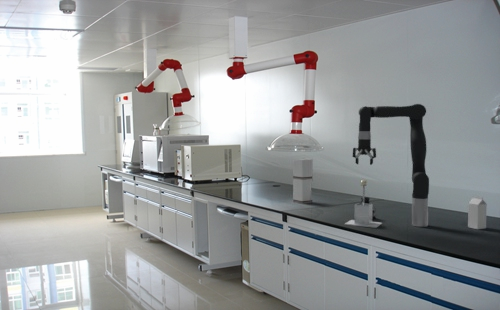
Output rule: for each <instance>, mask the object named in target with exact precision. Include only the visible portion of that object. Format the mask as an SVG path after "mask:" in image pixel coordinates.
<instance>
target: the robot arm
mask: <svg viewBox="0 0 500 310" xmlns="http://www.w3.org/2000/svg"><path fill="white" fill-rule="evenodd" d="M426 114H427V108H426V107H425V105H423V104H421V103H414V104H412V105H405V106H395V105H394V106H393V105H392V106H388V105H386V106H384V105H381V106H380V105H379V106H367V105H366V106H362V107H360V109H359V110H358V115H359V122H358V123H359V124H358V137H357V138H358V139H357V141H358V142H357V143H358V144H357V147H353V148H352V157H353V158H355V164H356V165H359V160H360V159H359V157H360V156H361V155H362V156H363V155H365V156H368V157H369V165H370V166H372V165H373V163H374V159H375V158H377V148H376V147H374V148H373V147H371V146H372V145H371V143H372V141H371V140H372V138H371V137H372V135H371V122H372V121H371V120H372V118H378V119H379V118H382V119H383V118H384V119H385V118H387V119H388V118H399V117H401V118H404V117H406V118H408V119H409V125H410V133H409V134H410V140H409V142H410V155H411V162H412V168H411V169H412V171H411V173H412V174H411V175H412V176H411V181H412V194H411V196H412V197H411V226H414V227H421V228H424V227H426V228H427V227H428V226H429V210H428V209H429V207H428V205H429V194H430V178H429V176H428V175H427V174H426V166H425V165H426V156H427V139H426V135H425V131H424V127H423V125H424V124H423V120H424V117H425V116H426ZM357 151H358V153H357ZM371 152H372V153H371ZM356 153H357V154H356Z"/></svg>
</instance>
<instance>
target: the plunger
mask: <svg viewBox="0 0 500 310" xmlns="http://www.w3.org/2000/svg"><path fill="white" fill-rule="evenodd" d="M360 181H361V184H360V186H362V197H363V205H364V199H365V197H366V194H365V193H366V190H365V188H366V187H365V186H367V183H368V182H367V180H366V179H362V180H360ZM364 206H369V205H364Z"/></svg>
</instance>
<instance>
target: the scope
mask: <svg viewBox="0 0 500 310" xmlns="http://www.w3.org/2000/svg"><path fill="white" fill-rule="evenodd" d="M360 199H361V201H360V203H363V196H362V197H360ZM364 203H368V204H370V197H366V196H365V199H364ZM376 210H377V208H376V206H375V207H374V208H373V209H372V220H373V219H374V220H375V219H377V218H376V217H377V213H376V212H377V211H376Z"/></svg>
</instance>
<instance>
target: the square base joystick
mask: <svg viewBox="0 0 500 310" xmlns="http://www.w3.org/2000/svg"><path fill="white" fill-rule="evenodd" d="M364 205H369V206H364ZM364 205H363V203H361V202H358V203H355V204H354V216H353V217H354V219H353V220H354V224H361V225H370V224H371V223H372V222H373V219H372V210H373V203H369V204H368V203H364Z"/></svg>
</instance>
